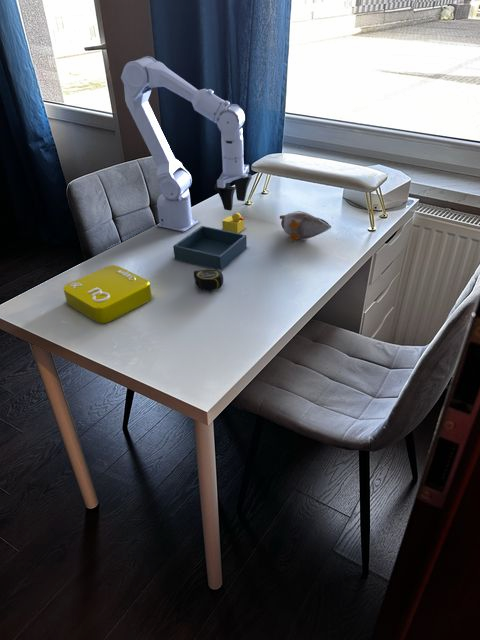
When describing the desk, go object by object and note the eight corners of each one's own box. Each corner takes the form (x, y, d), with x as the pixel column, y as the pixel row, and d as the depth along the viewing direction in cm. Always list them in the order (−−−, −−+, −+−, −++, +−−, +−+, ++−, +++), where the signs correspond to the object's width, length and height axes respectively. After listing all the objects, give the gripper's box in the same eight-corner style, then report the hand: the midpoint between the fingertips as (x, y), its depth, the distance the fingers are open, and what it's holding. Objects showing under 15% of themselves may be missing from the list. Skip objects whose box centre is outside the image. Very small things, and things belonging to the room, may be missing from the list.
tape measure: (221, 278, 125) (221, 265, 123) (225, 292, 120) (224, 278, 118) (194, 281, 125) (193, 267, 122) (196, 295, 119) (195, 281, 117)
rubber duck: (222, 230, 148) (221, 213, 144) (229, 225, 151) (228, 208, 147) (240, 234, 146) (240, 216, 142) (247, 229, 148) (246, 212, 145)
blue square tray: (174, 259, 134) (173, 245, 131) (202, 238, 144) (201, 225, 141) (220, 270, 129) (220, 256, 126) (246, 248, 139) (246, 235, 136)
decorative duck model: (280, 202, 148) (331, 201, 147) (280, 227, 152) (330, 227, 151) (276, 217, 136) (332, 217, 134) (276, 244, 140) (331, 244, 138)
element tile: (155, 298, 118) (153, 280, 115) (102, 326, 109) (97, 308, 106) (116, 278, 126) (113, 261, 123) (63, 302, 117) (58, 285, 114)
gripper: (232, 165, 128) (234, 216, 136) (258, 150, 138) (258, 198, 147) (208, 162, 131) (212, 212, 139) (235, 147, 141) (237, 194, 149)
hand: (234, 205), depth 143 cm, fingers open, 7 cm apart
